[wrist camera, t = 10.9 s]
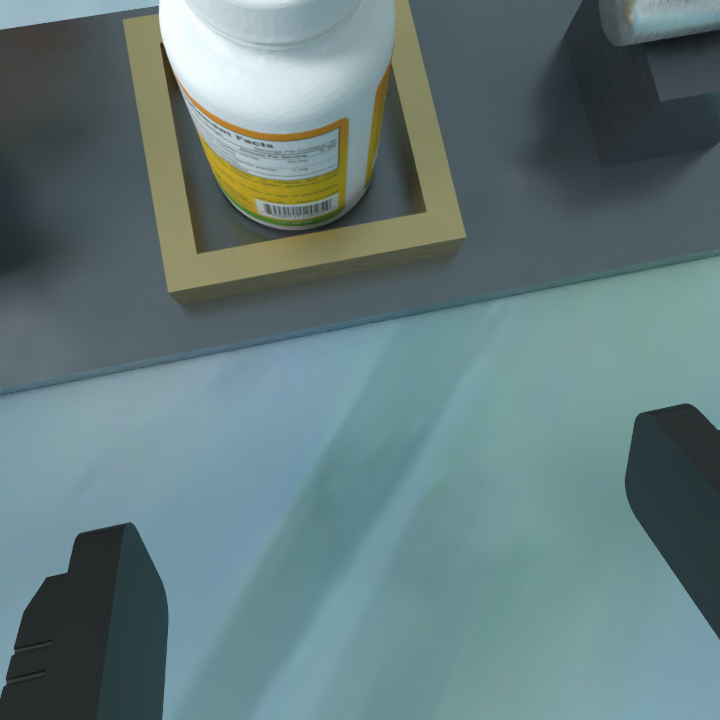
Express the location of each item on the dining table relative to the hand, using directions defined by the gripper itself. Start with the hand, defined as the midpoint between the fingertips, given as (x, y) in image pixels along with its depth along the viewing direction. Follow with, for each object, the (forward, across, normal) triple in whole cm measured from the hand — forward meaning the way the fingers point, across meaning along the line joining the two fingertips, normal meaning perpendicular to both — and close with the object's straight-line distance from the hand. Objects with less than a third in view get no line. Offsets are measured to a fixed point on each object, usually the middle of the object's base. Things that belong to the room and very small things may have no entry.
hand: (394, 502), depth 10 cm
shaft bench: (+15, 0, 0) cm, 15 cm away
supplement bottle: (+15, 0, -1) cm, 15 cm away
